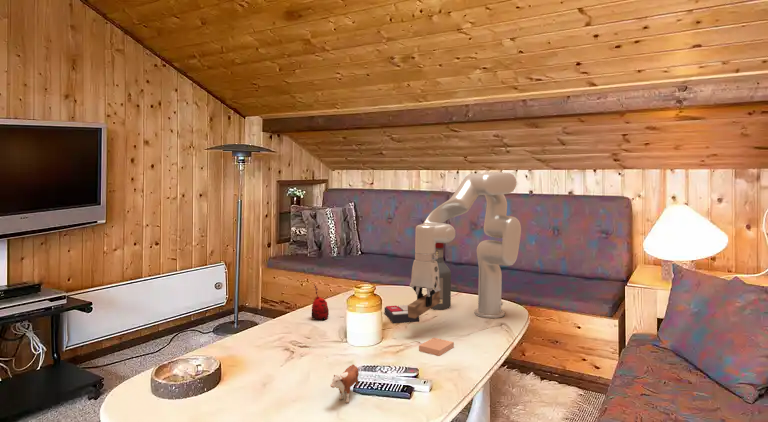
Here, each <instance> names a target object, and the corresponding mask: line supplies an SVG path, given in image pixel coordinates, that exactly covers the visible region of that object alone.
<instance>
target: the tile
mask: <svg viewBox="0 0 768 422" xmlns="http://www.w3.org/2000/svg"><path fill="white" fill-rule="evenodd" d="M454 345H455V344H454V341H450V340H446V339H441V338H437V337H432V338H431V339H428V340H426V341H424V342H423V343H421V344H419V345H418V351H419V352H422V353H425V354H430V355H434V356H439V357H440V356H442V355H444V354H445V353H447V352H449V351H450V350H452V349H453V348H454Z"/></svg>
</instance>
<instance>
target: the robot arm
mask: <svg viewBox="0 0 768 422" xmlns="http://www.w3.org/2000/svg"><path fill="white" fill-rule="evenodd" d="M516 187H517V179H516V177H515V175H514V174H512V173H510V172H495V171H494V172H493V171H490V172H489V171H488V172H483V173H477V172H476V173H469V174H468V175H466V176H465V177H464V178H463V180H462V181H461V183H460V184H459V185H458V187H457V188H456V190H455V191H454V193H453V194H452V195H451V197H450V198H448V200H446V201H445V202H443V203H441V204H440V205H439V206H437V207H436V208H434V209H433V210H432V211H431V212H430V213H429V214H428V216H427V217H426V219H425V220H424V221H423V223H422V224H418V225H416V226H415V234H414V236H415V240H414V241H415V243H414V244H415V245H414V246H415V247H414V248H415V249H414V250H415V251H414V252H415V253H414V260H413V263H412V268H411V281H410V283H409V287H410V288H412V290H413V291H414V293H415V295H416V300H418V299H419V298H421V297H423V296H424V293H423V288H424V289H426V294H427V296H426V307H429V306H431V305H432V296H433V295H434V294H435V293H436V292H438V291H440V290H441V289H440V286H439V269H438V263H437V261H435V260H436V259H438V256H436V248H435V244H436V243H444V244H449V243H451V242H453V240H454V239H455V237H456V229H455V228H454V226H452V225H451V224H449V223H445V222H446V221H447V220H449V219H452V218H455V217H459V216H461V215H463V214H466V213H468V212H469V210H470V209H471V208H472V206H473V205H474V202H475V201H476V200H477V198H478V197H479V196H484V197H485V200H486V208H485V216H484V221H483V222H484V224H483V232H484V235H486V236H488V237H491V238H499V239H502V241H499V240H493V239H485V240H482V241H480V242H479V244H478V245H477V247H476V257H477V263H478V295H477V299H478V300H477V301H478V302H477V303H478V305H477V308H476V309H474V314H475V315H476V317H477V316H478V317H481V318H487V319H498V318H502V317H505V314H506V313H505V311H504V310H503V309H502V306H503V305H504V302H503V301H502V285H503V284H502V280H503V279H502V278H503V275H502V274H503V272H502V269H501V267H500V266H504V267H510V266H513V265H514V264H515V263H516V261H517V259H518V255H519V250H520V249H519V248H520V243H521V242H520V241H521V236H522V225H521V222H520V220H519V219H518V218H517V217H515V216H511V215H507V211H508V202H507V198H506V196H505V195H508V194H511V193H512V192H514V191H515V190H516ZM434 287H435V289H434V290H433V288H434Z"/></svg>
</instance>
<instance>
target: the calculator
mask: <svg viewBox="0 0 768 422" xmlns="http://www.w3.org/2000/svg"><path fill="white" fill-rule="evenodd" d="M408 305H409V304H403V305H402V304H400V305H386V306H385V307H384V315H386V317H387V318H388V319H389V320H390V322H391V323H392V324H403V323H404V324H406V323H417V322H420V316H418V317H417V318H410V317H408Z"/></svg>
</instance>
